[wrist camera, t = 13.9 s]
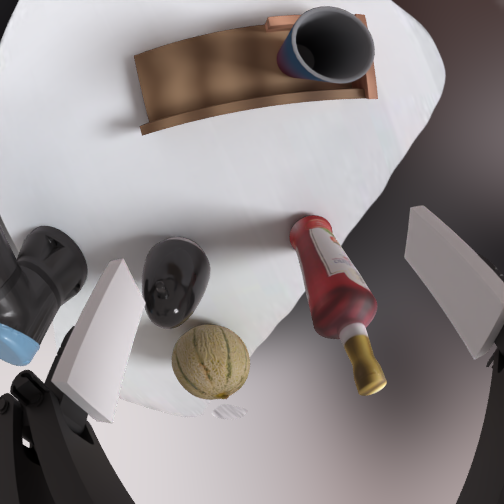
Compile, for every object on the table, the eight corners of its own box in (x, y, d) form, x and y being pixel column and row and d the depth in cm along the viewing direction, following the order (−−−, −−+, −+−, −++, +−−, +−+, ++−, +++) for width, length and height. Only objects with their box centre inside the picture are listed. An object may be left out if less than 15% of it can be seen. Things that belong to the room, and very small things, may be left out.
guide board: (155, 128, 34) (139, 137, 28) (138, 57, 28) (119, 52, 23) (355, 95, 33) (378, 98, 27) (344, 24, 27) (364, 14, 21)
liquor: (340, 225, 44) (422, 370, 21) (312, 257, 47) (366, 410, 24) (305, 202, 42) (381, 356, 18) (277, 238, 45) (315, 402, 21)
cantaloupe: (170, 309, 52) (156, 374, 40) (246, 306, 52) (249, 373, 40) (185, 355, 60) (178, 413, 48) (249, 353, 60) (253, 412, 48)
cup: (266, 37, 27) (285, 4, 14) (319, 36, 27) (369, 10, 14) (272, 86, 31) (296, 83, 18) (324, 84, 30) (378, 85, 18)
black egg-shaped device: (211, 226, 43) (202, 291, 30) (212, 280, 49) (206, 350, 36) (147, 225, 42) (116, 287, 30) (155, 278, 48) (134, 344, 35)
